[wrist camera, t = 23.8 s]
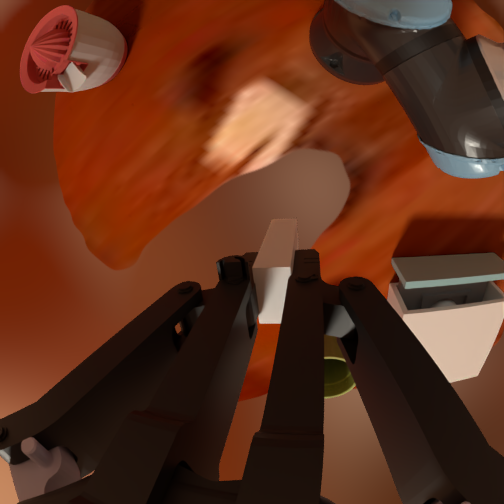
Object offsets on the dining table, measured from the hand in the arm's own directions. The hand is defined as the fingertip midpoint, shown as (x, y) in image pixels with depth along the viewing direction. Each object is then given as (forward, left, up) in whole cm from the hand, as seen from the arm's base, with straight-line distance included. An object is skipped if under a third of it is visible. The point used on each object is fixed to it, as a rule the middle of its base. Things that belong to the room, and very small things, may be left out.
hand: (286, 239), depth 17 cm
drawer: (+27, +28, -28) cm, 48 cm away
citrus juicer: (-29, -33, -29) cm, 52 cm away
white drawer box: (+30, +28, -28) cm, 50 cm away
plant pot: (+33, +4, -29) cm, 44 cm away
